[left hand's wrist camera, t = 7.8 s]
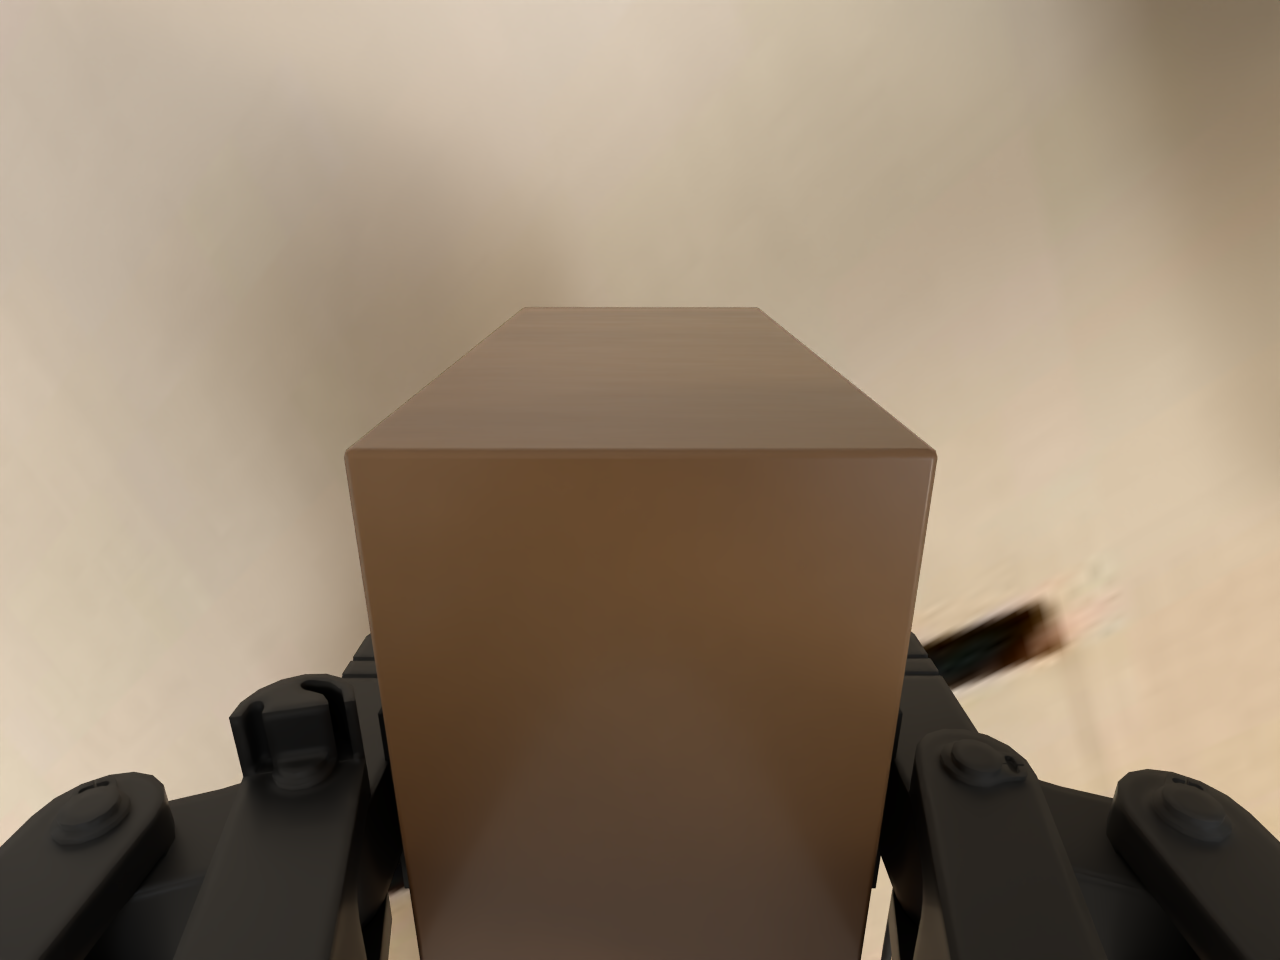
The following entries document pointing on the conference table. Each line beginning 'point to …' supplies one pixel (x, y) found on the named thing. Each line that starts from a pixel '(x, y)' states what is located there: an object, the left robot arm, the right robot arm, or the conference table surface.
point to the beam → (640, 637)
